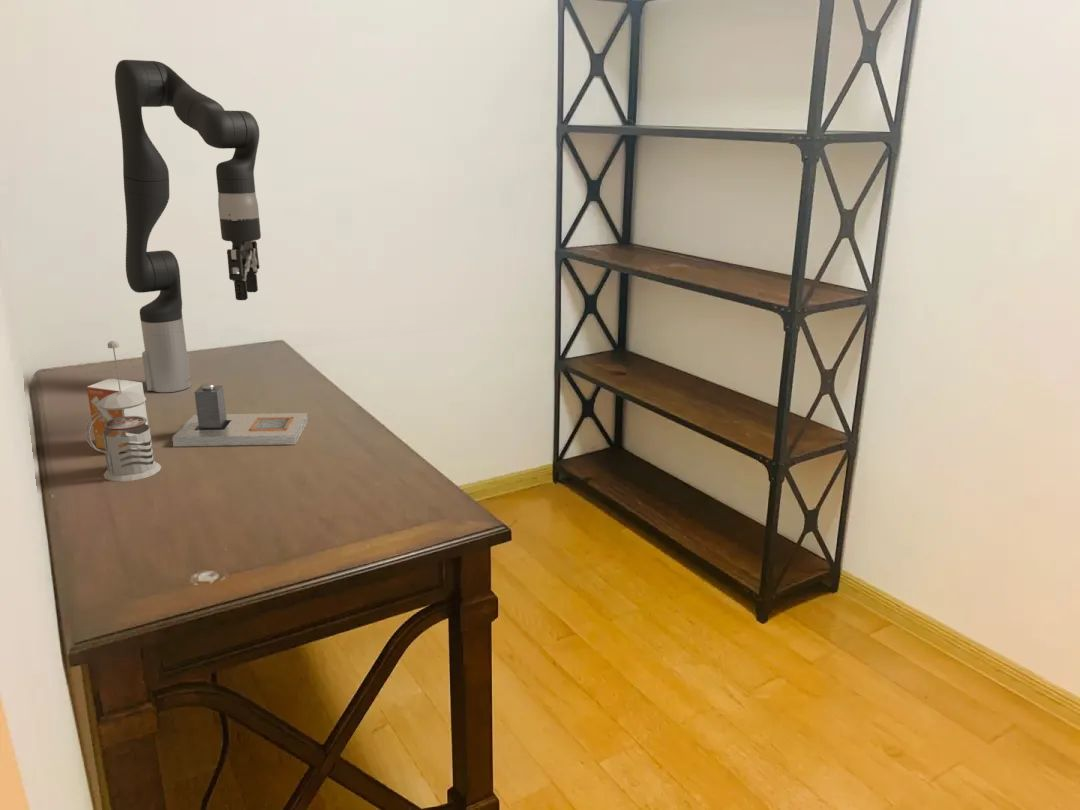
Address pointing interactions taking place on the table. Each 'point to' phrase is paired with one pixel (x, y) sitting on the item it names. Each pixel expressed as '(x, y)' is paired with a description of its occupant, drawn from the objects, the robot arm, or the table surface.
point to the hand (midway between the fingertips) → (247, 295)
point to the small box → (103, 390)
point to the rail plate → (245, 430)
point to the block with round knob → (211, 407)
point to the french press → (125, 437)
